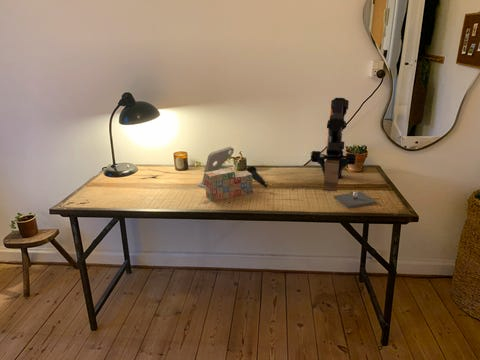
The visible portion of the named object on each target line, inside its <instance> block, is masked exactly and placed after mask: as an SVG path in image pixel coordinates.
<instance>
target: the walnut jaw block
mask: <svg viewBox="0 0 480 360" xmlns="http://www.w3.org/2000/svg"><path fill="white" fill-rule="evenodd" d="M338 172H339V161H335V160H327V159H325V173H324V174H323V191H324V192H325V191H326V192H335V193H337V191H338V187H339V186H338V185H339V178H338Z"/></svg>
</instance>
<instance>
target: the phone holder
mask: <svg viewBox="0 0 480 360" xmlns="http://www.w3.org/2000/svg"><path fill="white" fill-rule="evenodd" d="M233 154H234V148H233V147H232V146H227V147H224V148H220V149H219V150H216V151H213V152H210V153H209V155H208V156H207V160H206V165H205V168H204V171H203V172H204V173H203V177H202V181H201V182H198V183H197V187H200V188H203V189H206V186H205V172H209V171H215V170H220V169H225V168H230V169H231V170H233V168H232V167H229V166H227V165H226V166H225V165H223V164H224V163H226V161H228V159H230V158H231V156H232V155H233ZM214 163H215V165H214ZM233 171H234V170H233Z"/></svg>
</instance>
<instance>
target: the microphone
mask: <svg viewBox="0 0 480 360" xmlns="http://www.w3.org/2000/svg"><path fill="white" fill-rule="evenodd" d="M245 171H248V172H249V173H251V174H252V179H253V180H256V182H258V183H259V184H260V185H262V186H264V187H268V185H267V183H266V181H265V179H263V178H262V176H261V175H260V174H259V173H258V171H257V168H256V167H255V166H253V165H250V166H248V167H247V168H246V170H245Z"/></svg>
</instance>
